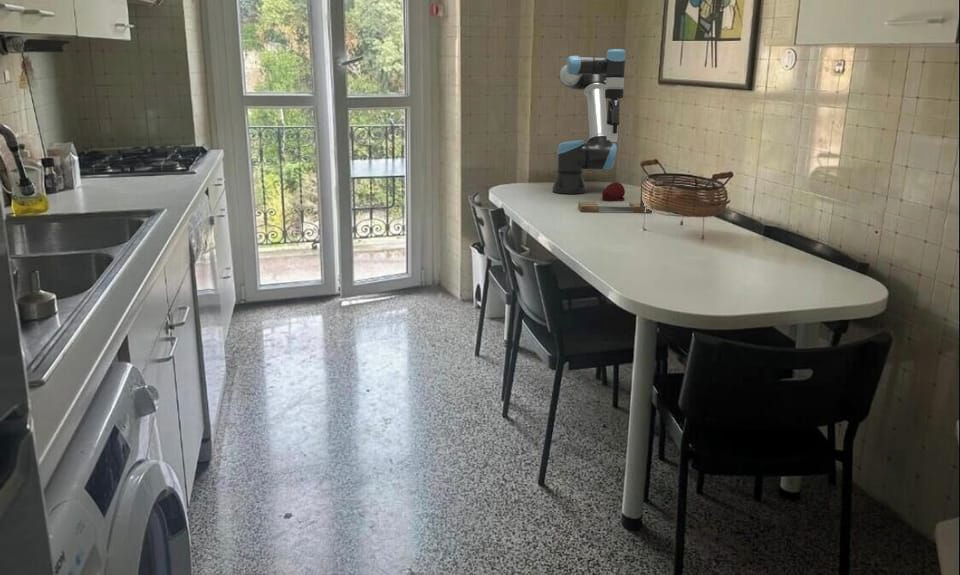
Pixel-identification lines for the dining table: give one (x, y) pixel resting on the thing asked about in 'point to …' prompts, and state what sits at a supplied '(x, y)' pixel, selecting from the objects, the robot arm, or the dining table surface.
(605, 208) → the wooden stand
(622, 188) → the mug
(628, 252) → the dining table surface
